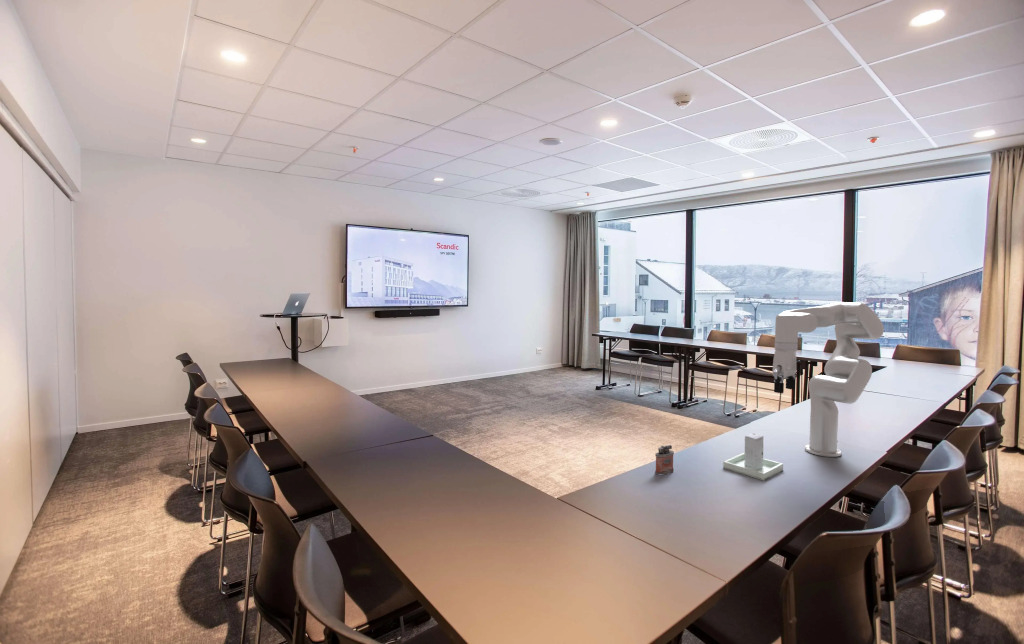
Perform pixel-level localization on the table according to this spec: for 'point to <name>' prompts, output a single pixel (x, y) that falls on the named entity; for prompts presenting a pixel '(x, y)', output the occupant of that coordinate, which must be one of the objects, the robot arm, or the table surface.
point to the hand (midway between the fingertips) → (784, 390)
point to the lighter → (664, 460)
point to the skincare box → (753, 451)
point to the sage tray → (762, 473)
